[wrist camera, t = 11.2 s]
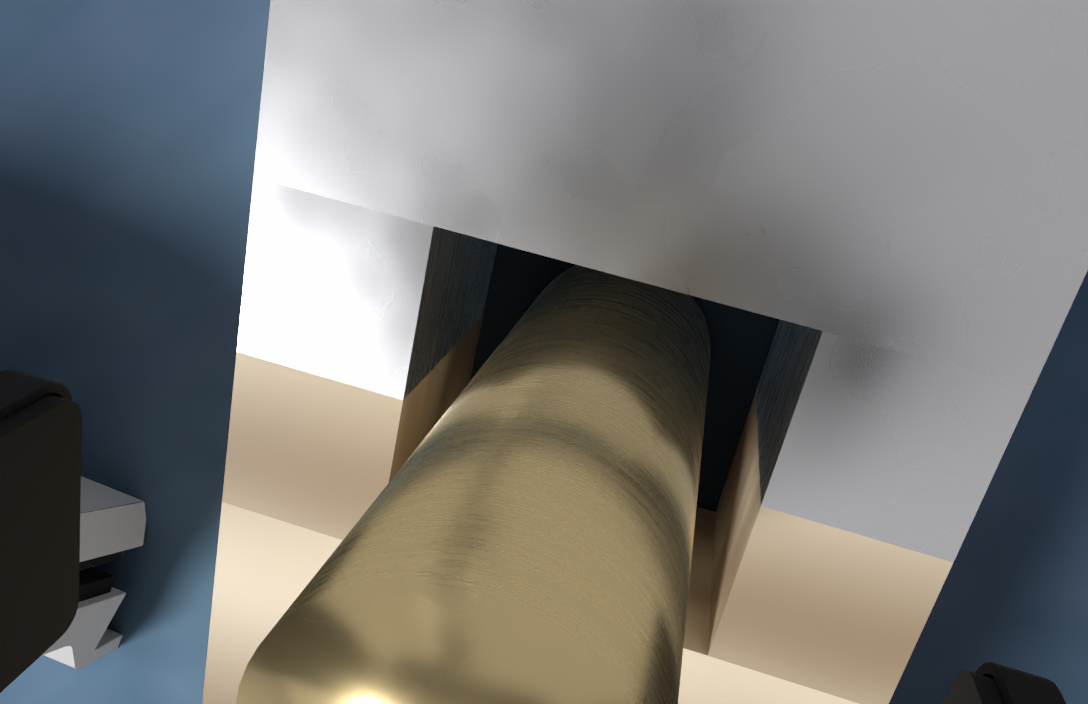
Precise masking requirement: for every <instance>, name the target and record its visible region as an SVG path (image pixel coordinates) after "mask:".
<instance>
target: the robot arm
mask: <svg viewBox="0 0 1088 704" xmlns="http://www.w3.org/2000/svg"><path fill="white" fill-rule="evenodd" d="M81 429H82V416H81V410H80V408H79V406H78V404H76V403H75V402H73V401H72V398H71V394H70V392H69V390H68V388H67V387H65V386H64V385H63V384H61V383H57V382H54V381H51V380H47V379H44V378H41V377H37V376H34V375H31V374H27V373H24V372H21V371H17V370H5V371H2V372H0V692H2V691H3V690H4V689H5V688H6V687H7V686H8V685H9V684H10V683H11V682H13V681H14V680H15V679H16V678H17V677H18V676H19V675H20V674H21V673H22V672H23V671H25V670H26V669H27V668H28V667H29V666H30V665H31V664H32V663H33V662H34V661H35V660H37V659H38V658H39V657H40V656H41V655H42V654H43V653H44V652H45V651H46V650H47V649H49V648H50V647H51V646H52V645H53V644H54V643H55V642H56V641H57V640H58V639H59V638H61V636H62V635H63V634H64V633H65V632H66V631H67V629H68V628H69V626H70V625H71V623H72V621H73V619H74V617H75V615H76V612H77V609H78V604H79V568H80V498H81ZM942 704H1066V703H1065V701H1064V699H1063V696H1062V694H1061V692H1060V690H1059V689H1058V688H1057V686H1056V685H1055V683H1054V682H1052V681H1050V680H1048V679H1045V678H1042V677H1039V676H1035V675H1032V674H1029V673H1025V672H1022V671H1019V670H1015V669H1012V668H1009V667H1005V666H1002V665H999V664H995V663H992V662H989V663H984V664H983V665H982V666H980V667H979V668H978V669H977V671H976V672H975V673H972V672H969V671H961V672H960V673H959V674H958V675H957V676H956V677H955V679H954V681H953V682H952V684H951V686H950V688H949V690H948V692H947V694H946V696H945V698H944V700H943V702H942Z"/></svg>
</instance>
